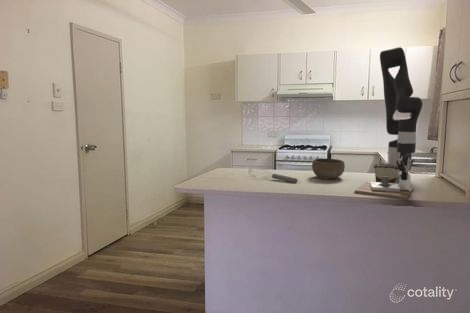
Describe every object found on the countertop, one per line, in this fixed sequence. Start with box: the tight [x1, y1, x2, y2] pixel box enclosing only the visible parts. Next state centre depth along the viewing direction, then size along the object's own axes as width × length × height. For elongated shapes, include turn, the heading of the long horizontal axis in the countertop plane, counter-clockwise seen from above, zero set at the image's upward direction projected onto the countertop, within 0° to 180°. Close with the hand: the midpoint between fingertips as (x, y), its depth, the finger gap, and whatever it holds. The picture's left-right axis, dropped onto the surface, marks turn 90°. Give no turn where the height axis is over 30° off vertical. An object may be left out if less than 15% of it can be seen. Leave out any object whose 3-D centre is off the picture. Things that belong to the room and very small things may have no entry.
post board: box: [354, 176, 415, 199], centre depth 169 cm, size 22×22×7 cm
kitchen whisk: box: [248, 166, 299, 184], centre depth 198 cm, size 6×34×6 cm, turn 50°
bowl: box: [311, 158, 346, 180], centre depth 203 cm, size 17×18×10 cm
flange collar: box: [369, 172, 411, 192], centre depth 168 cm, size 16×12×8 cm
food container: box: [373, 163, 399, 183], centre depth 187 cm, size 12×6×10 cm, turn 59°
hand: (404, 180), depth 163 cm, fingers closed
